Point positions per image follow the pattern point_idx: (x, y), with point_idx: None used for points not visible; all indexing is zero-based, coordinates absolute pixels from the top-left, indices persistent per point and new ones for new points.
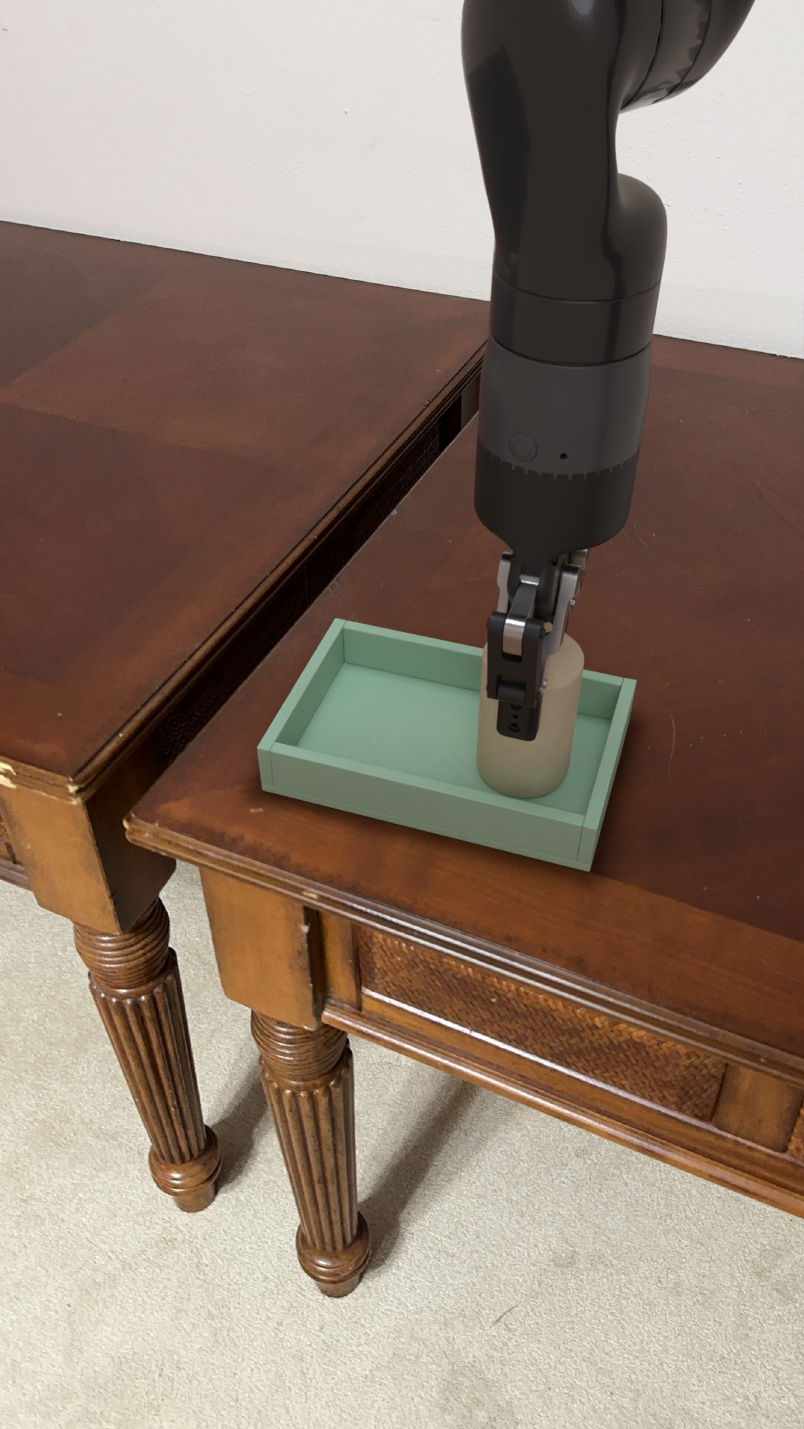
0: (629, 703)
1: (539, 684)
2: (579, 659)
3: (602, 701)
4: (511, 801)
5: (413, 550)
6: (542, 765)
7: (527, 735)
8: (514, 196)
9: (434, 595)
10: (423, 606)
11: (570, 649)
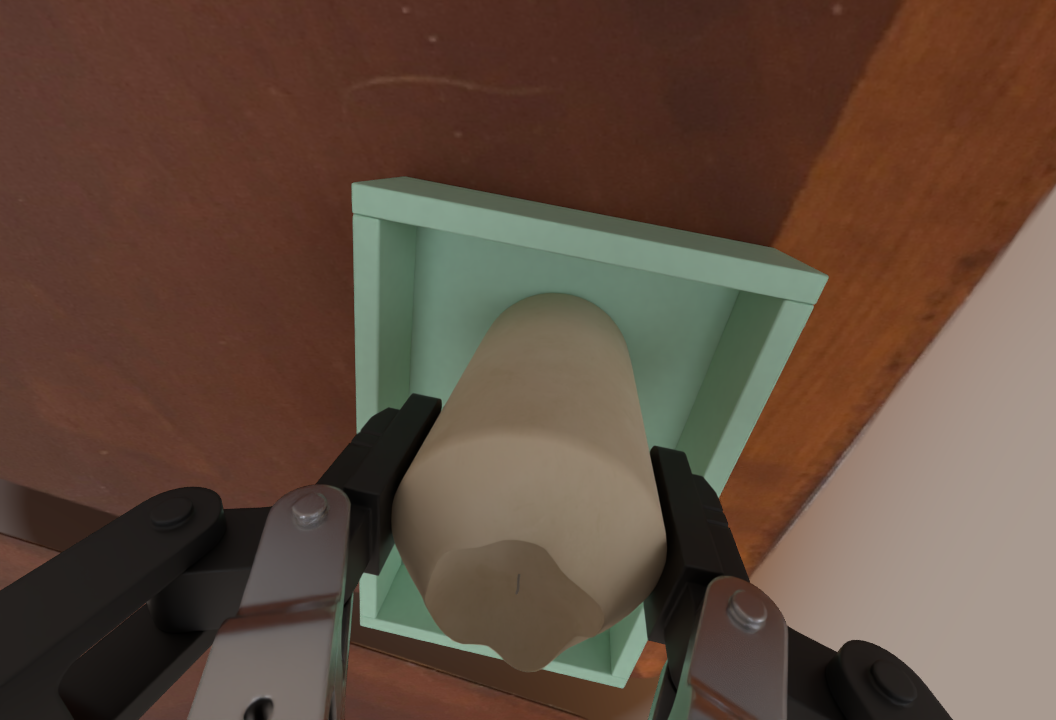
0: (433, 201)
1: (882, 717)
2: (535, 458)
3: (401, 244)
4: (737, 425)
5: (150, 492)
6: (631, 370)
7: (700, 481)
8: None
9: (225, 468)
10: (254, 479)
11: (519, 501)
